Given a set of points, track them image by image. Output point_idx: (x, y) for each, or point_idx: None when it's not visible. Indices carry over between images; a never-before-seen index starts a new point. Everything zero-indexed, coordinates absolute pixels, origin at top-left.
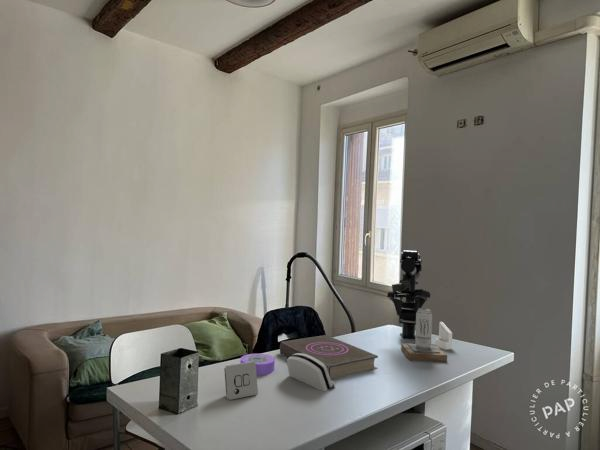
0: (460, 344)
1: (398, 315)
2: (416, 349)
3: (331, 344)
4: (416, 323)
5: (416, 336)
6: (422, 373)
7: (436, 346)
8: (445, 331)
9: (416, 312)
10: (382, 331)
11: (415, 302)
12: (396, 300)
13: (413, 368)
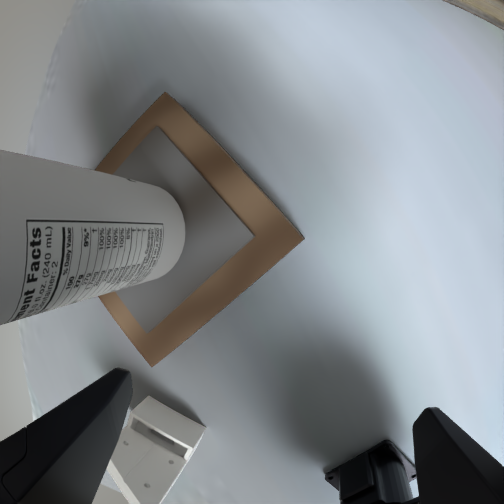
0: None
1: (422, 416)
2: (158, 163)
3: None
4: (73, 175)
5: (136, 184)
6: (102, 43)
7: (130, 332)
8: (124, 464)
9: (96, 393)
10: (495, 446)
11: (6, 489)
12: None
13: (135, 48)
